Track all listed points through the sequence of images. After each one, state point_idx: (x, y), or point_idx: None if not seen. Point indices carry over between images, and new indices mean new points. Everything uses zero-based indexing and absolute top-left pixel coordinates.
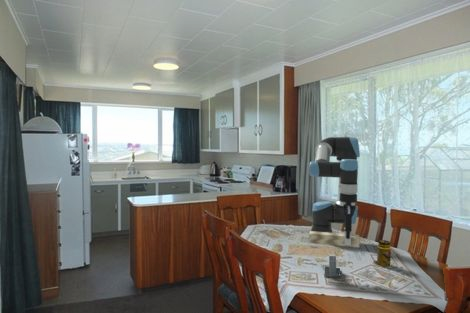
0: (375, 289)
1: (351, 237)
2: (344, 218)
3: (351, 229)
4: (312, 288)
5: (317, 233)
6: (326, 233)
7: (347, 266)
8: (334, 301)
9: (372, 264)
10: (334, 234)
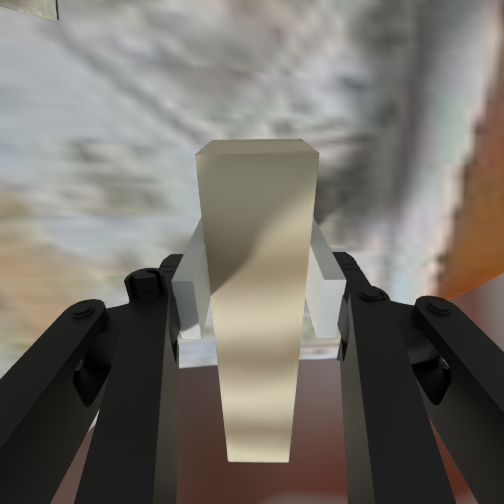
0: (392, 46)
1: (309, 236)
2: (77, 448)
3: (452, 312)
4: (399, 286)
5: (272, 434)
6: (253, 398)
7: (149, 166)
8: (495, 224)
9: (46, 15)
10: (264, 358)
